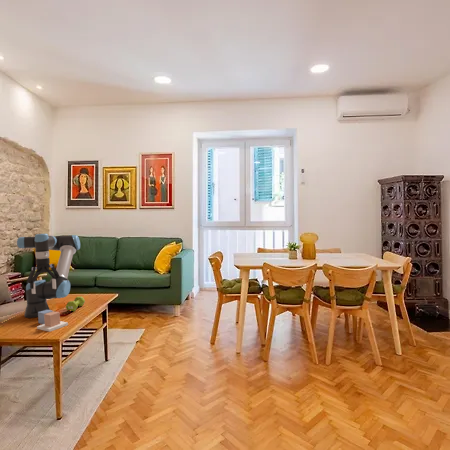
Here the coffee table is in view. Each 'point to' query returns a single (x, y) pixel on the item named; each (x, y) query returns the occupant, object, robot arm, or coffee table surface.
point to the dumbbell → (75, 303)
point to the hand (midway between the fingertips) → (44, 291)
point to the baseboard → (47, 328)
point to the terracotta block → (52, 318)
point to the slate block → (42, 316)
